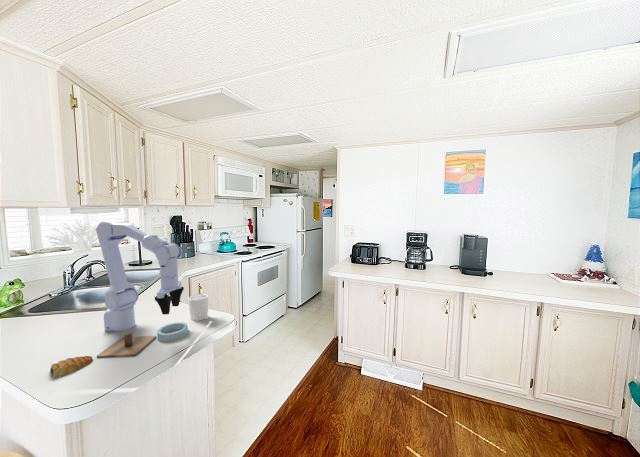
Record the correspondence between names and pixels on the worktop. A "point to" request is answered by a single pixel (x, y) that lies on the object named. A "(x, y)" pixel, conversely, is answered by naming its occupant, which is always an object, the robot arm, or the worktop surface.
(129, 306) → the robot arm
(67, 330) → the worktop surface
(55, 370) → the pastry
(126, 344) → the lid
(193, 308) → the white cup
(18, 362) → the worktop surface
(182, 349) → the worktop surface
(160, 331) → the bowl
